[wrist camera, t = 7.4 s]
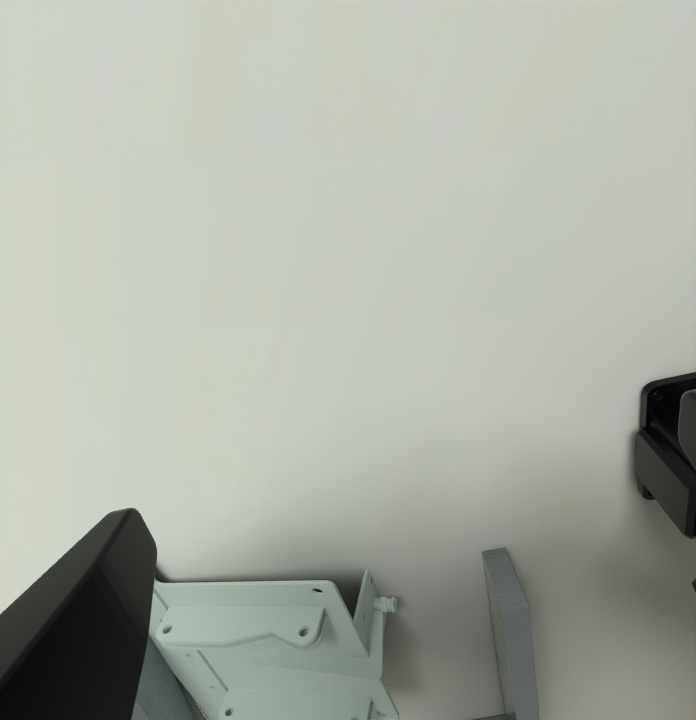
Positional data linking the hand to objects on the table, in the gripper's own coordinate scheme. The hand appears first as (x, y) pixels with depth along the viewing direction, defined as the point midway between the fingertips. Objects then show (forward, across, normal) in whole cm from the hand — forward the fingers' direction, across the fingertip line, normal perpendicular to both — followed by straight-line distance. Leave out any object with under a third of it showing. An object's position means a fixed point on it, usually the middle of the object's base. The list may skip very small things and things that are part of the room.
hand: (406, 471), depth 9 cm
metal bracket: (+14, +9, +19) cm, 25 cm away
